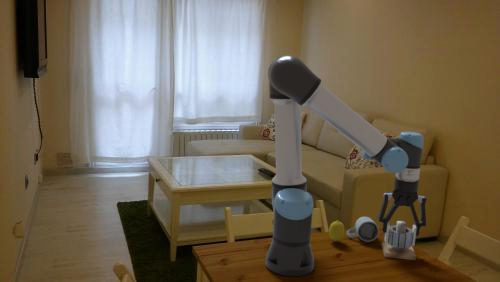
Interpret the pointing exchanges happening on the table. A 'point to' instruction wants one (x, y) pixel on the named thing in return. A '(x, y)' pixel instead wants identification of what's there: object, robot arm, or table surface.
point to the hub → (400, 238)
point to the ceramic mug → (364, 229)
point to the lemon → (336, 231)
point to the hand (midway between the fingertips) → (399, 242)
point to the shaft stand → (399, 252)
